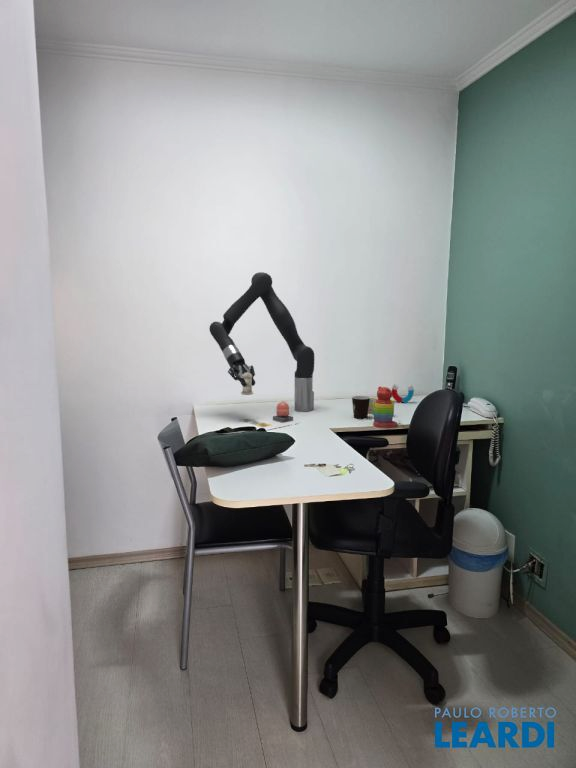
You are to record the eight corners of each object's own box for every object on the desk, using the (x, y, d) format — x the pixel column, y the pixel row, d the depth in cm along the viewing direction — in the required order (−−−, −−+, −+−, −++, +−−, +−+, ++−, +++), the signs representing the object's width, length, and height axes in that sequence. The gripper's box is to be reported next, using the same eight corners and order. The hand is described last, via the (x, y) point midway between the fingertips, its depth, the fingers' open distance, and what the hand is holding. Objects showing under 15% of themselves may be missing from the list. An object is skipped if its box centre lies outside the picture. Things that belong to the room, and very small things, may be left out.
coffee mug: (368, 420, 265) (369, 399, 264) (350, 419, 267) (351, 398, 265) (370, 414, 276) (370, 395, 275) (352, 414, 278) (353, 394, 277)
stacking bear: (400, 426, 254) (401, 387, 251) (383, 429, 248) (384, 389, 245) (383, 421, 262) (384, 384, 259) (367, 424, 257) (368, 386, 254)
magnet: (413, 402, 306) (414, 384, 305) (413, 403, 304) (413, 385, 302) (391, 401, 309) (392, 383, 308) (391, 402, 307) (391, 384, 305)
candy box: (394, 416, 274) (394, 399, 272) (392, 417, 272) (392, 400, 271) (364, 412, 283) (365, 396, 282) (362, 413, 281) (363, 396, 280)
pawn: (248, 392, 262) (248, 371, 260) (255, 393, 258) (255, 372, 256) (238, 393, 259) (238, 372, 257) (246, 395, 254) (245, 373, 253)
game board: (269, 415, 275) (269, 410, 274) (300, 423, 259) (300, 417, 258) (226, 423, 258) (226, 418, 257) (256, 432, 241) (256, 426, 241)
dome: (283, 412, 264) (283, 400, 263) (292, 414, 260) (292, 402, 259) (273, 414, 260) (273, 401, 259) (282, 416, 256) (282, 403, 255)
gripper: (224, 352, 256) (240, 382, 249) (248, 350, 265) (265, 378, 258) (217, 363, 261) (233, 392, 254) (242, 360, 270) (258, 388, 263)
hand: (249, 385), depth 256 cm, fingers closed on pawn, 4 cm apart
